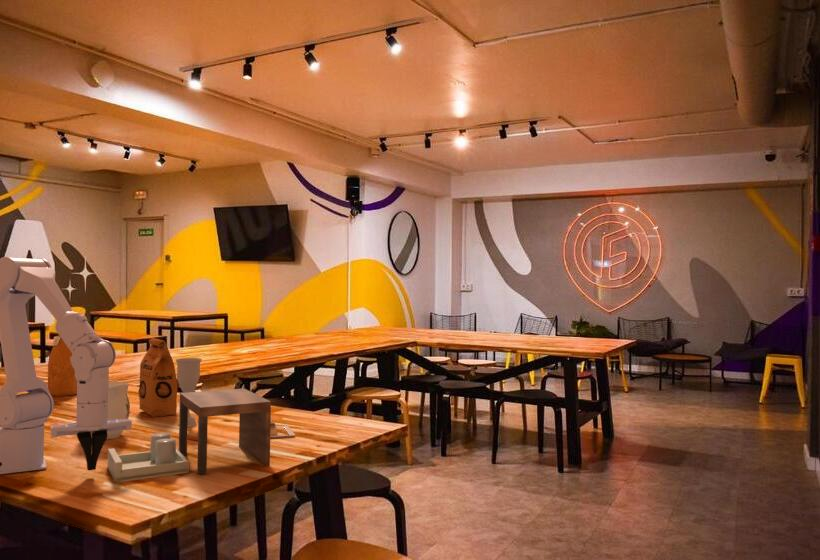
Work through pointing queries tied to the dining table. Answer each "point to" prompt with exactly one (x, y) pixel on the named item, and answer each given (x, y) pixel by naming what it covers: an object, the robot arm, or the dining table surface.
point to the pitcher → (117, 405)
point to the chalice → (188, 379)
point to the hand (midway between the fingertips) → (91, 468)
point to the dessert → (274, 431)
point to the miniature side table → (226, 403)
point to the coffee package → (158, 381)
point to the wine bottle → (61, 370)
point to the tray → (148, 461)
